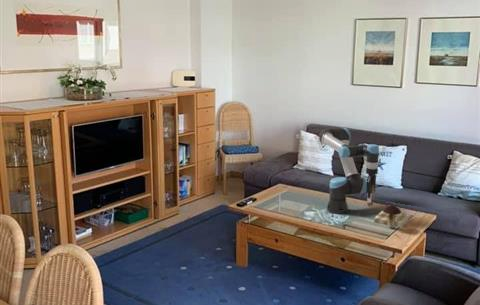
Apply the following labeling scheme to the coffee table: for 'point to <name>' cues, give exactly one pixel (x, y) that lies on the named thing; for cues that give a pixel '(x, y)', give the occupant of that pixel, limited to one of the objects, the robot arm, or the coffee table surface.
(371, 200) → the peg
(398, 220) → the board
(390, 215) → the decorative mushroom
